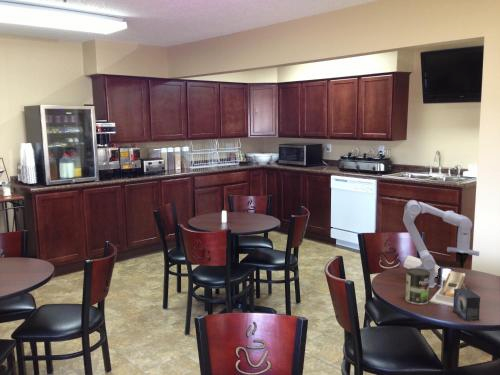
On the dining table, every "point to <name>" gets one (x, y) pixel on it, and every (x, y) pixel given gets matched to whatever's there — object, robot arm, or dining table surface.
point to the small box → (466, 304)
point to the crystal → (416, 263)
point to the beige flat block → (444, 297)
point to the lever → (453, 282)
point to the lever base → (433, 300)
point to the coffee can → (417, 286)
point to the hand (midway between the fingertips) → (461, 267)
